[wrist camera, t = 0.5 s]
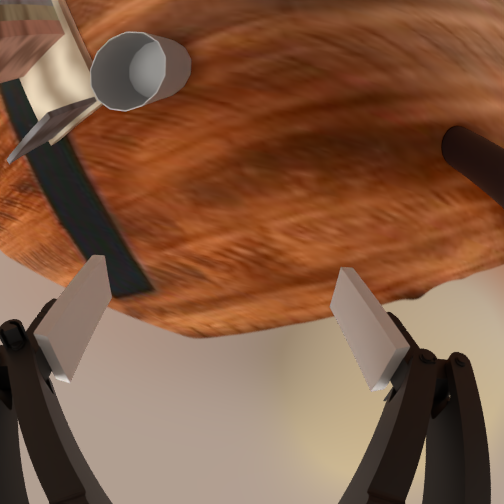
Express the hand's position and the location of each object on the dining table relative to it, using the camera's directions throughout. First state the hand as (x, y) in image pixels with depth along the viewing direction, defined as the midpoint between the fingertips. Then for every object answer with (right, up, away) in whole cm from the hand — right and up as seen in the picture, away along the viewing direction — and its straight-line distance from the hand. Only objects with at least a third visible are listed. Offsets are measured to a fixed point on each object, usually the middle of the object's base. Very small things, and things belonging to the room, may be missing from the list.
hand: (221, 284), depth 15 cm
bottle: (+33, +18, +17) cm, 41 cm away
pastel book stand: (-27, +30, +10) cm, 41 cm away
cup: (-10, +25, +13) cm, 30 cm away
